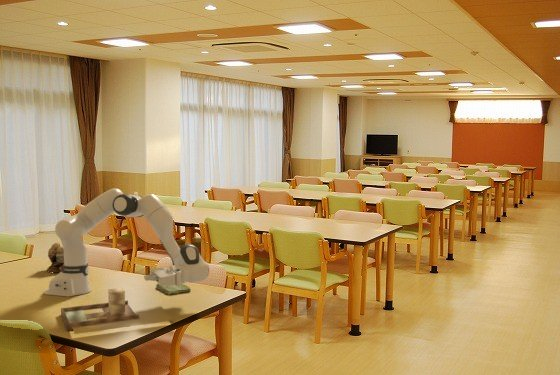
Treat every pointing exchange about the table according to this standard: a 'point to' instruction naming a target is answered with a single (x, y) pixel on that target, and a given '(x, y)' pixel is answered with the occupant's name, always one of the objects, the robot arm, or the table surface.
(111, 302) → the maple block
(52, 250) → the owl figurine
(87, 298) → the table surface
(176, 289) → the washcloth
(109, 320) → the tray
